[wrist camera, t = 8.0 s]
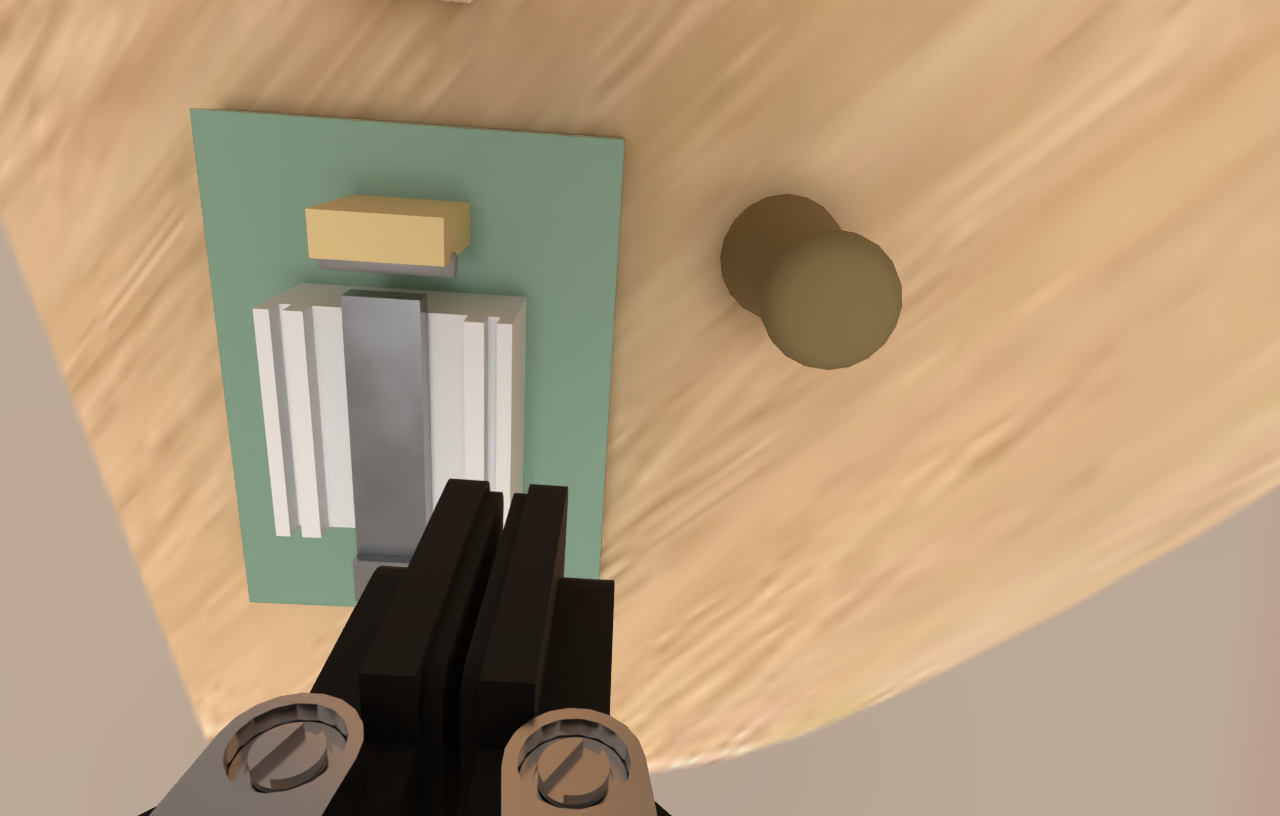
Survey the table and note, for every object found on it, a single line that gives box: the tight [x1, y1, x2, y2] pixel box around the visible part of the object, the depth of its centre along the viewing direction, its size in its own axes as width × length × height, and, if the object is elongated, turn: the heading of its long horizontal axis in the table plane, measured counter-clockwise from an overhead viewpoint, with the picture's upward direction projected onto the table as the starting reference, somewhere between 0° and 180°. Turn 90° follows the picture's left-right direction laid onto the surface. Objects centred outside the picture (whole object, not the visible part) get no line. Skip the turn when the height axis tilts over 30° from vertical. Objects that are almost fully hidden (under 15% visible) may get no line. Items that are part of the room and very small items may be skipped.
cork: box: [720, 194, 902, 370], centre depth 33 cm, size 6×6×11 cm
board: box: [190, 109, 625, 607], centre depth 36 cm, size 24×18×8 cm
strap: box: [341, 289, 433, 601], centre depth 33 cm, size 13×3×2 cm, turn 176°
